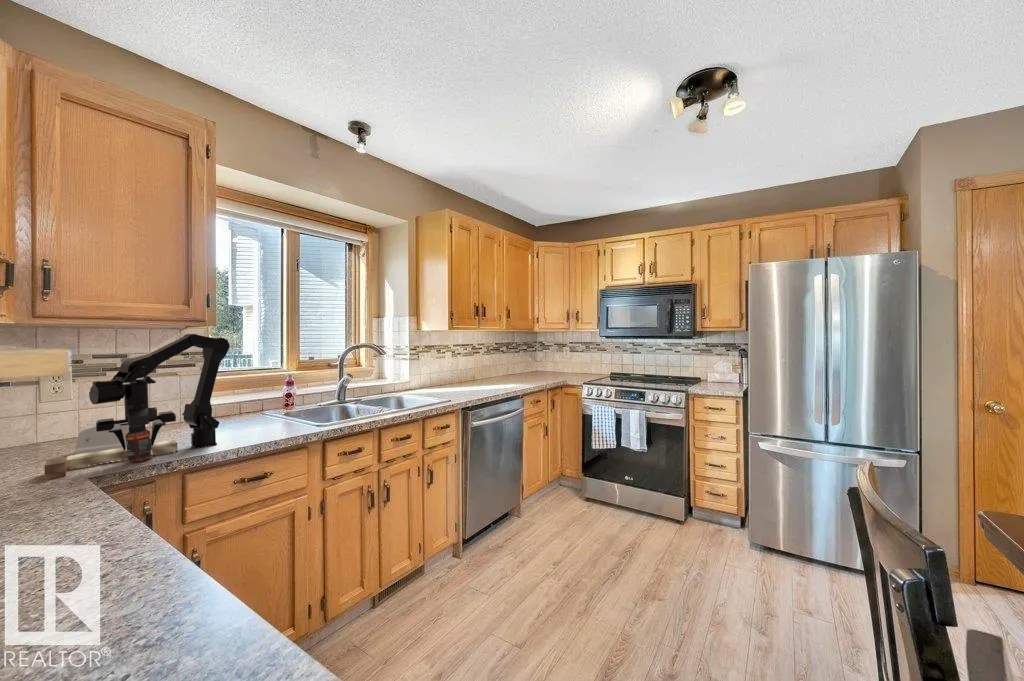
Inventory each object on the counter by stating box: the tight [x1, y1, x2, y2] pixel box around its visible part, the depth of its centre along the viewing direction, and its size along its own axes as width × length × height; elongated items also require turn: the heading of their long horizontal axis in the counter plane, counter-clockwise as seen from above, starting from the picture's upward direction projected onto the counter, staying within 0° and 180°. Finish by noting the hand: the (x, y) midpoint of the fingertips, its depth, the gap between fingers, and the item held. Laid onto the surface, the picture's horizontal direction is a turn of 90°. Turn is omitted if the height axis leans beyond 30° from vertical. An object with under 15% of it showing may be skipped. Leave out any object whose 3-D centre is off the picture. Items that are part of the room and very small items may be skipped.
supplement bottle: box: [126, 424, 153, 463], centre depth 134 cm, size 6×6×11 cm
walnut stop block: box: [43, 456, 68, 480], centre depth 120 cm, size 4×7×4 cm, turn 45°
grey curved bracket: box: [74, 425, 129, 455], centre depth 146 cm, size 17×5×10 cm, turn 129°
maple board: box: [66, 439, 178, 470], centre depth 136 cm, size 26×6×3 cm, turn 135°
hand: (138, 447), depth 133 cm, fingers open, 6 cm apart
